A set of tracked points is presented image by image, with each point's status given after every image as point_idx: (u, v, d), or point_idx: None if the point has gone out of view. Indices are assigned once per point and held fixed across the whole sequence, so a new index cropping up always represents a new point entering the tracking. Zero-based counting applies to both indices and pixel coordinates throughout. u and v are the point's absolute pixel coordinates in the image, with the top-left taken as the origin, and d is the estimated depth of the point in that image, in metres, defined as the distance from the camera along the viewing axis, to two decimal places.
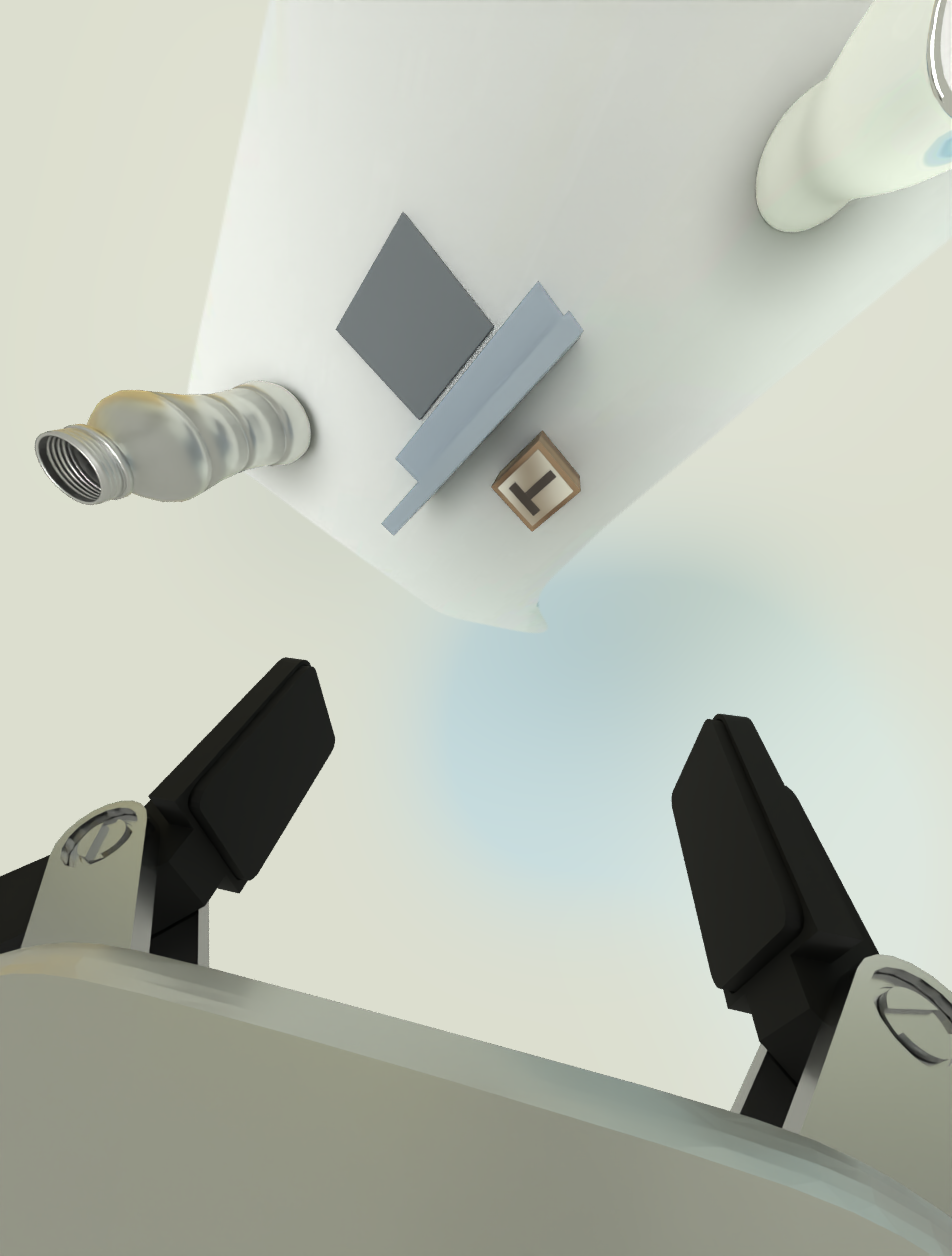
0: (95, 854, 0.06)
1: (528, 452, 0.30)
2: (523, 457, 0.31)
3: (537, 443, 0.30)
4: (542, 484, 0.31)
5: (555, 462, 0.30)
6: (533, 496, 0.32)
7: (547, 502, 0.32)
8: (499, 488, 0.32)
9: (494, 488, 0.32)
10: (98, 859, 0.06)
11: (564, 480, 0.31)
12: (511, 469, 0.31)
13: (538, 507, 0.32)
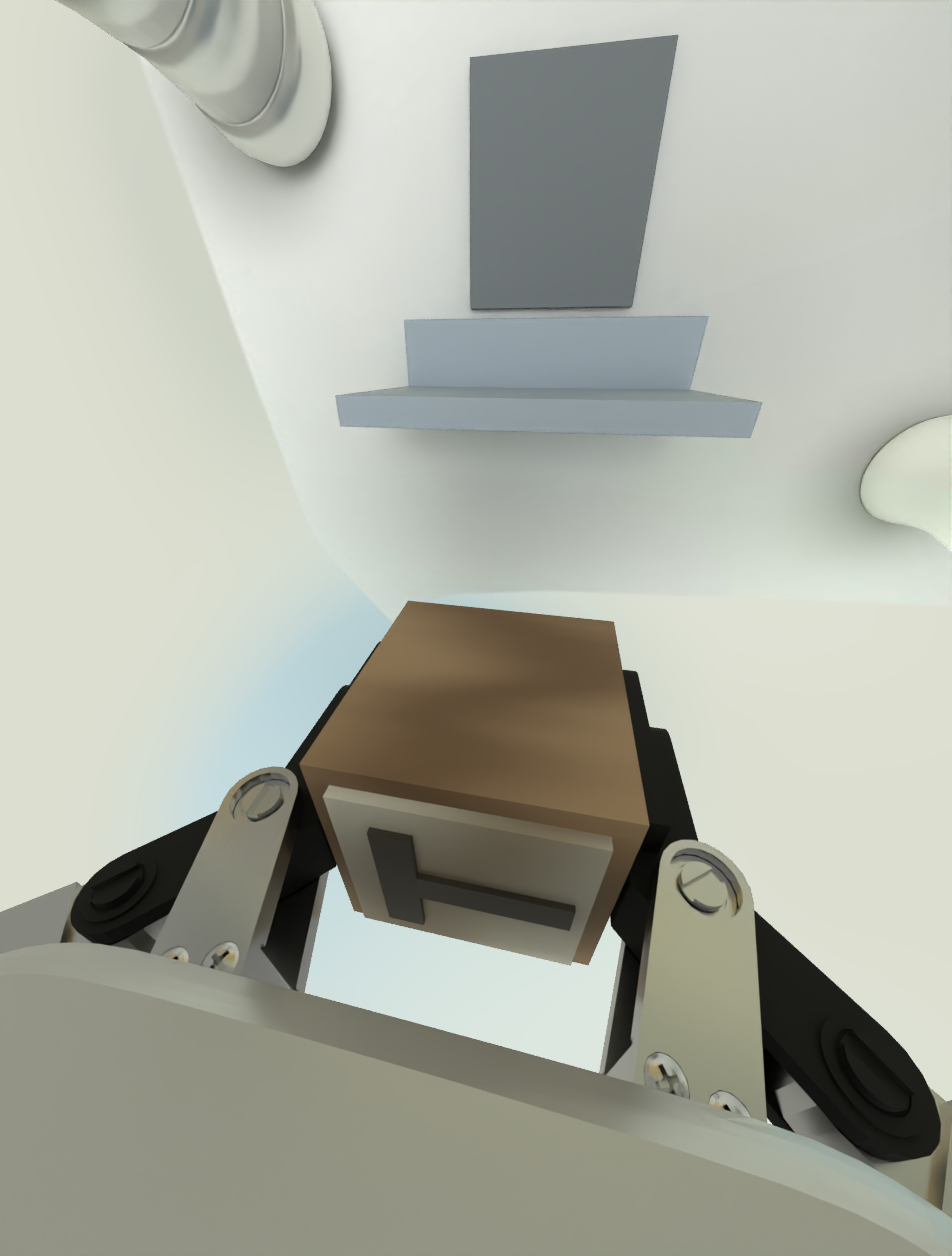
0: (253, 812, 0.07)
1: (562, 814, 0.05)
2: (524, 807, 0.06)
3: (631, 825, 0.05)
4: (504, 903, 0.07)
5: (612, 895, 0.06)
6: (436, 901, 0.07)
7: (467, 927, 0.08)
8: (330, 796, 0.06)
9: (310, 776, 0.06)
10: (254, 815, 0.07)
11: (579, 942, 0.07)
12: (436, 793, 0.06)
13: (426, 916, 0.08)
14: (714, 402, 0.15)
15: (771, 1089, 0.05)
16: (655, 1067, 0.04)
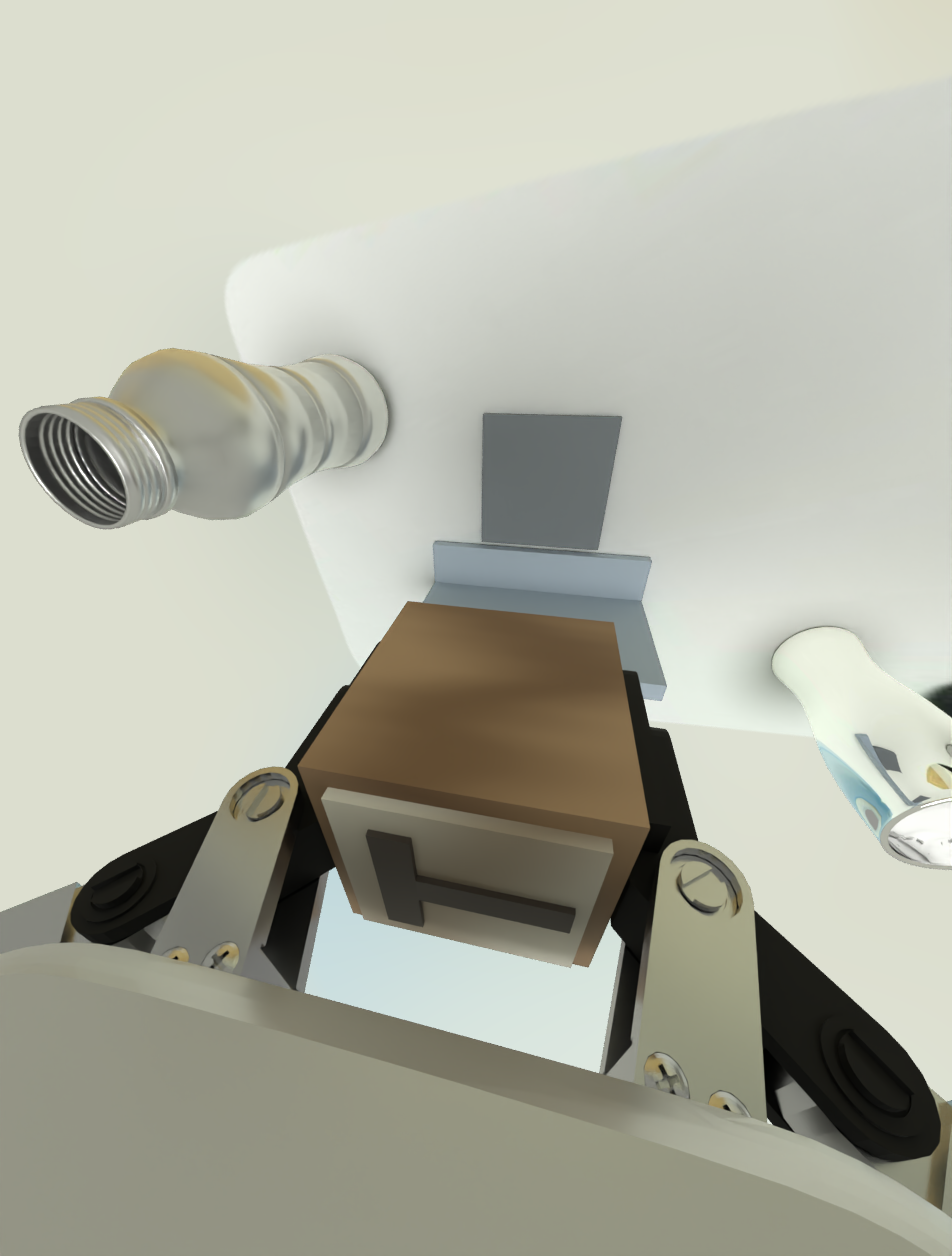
0: (253, 812, 0.07)
1: (562, 816, 0.05)
2: (524, 809, 0.05)
3: (632, 827, 0.05)
4: (503, 905, 0.07)
5: (613, 897, 0.06)
6: (436, 904, 0.07)
7: (466, 929, 0.08)
8: (329, 798, 0.06)
9: (308, 778, 0.06)
10: (254, 815, 0.07)
11: (579, 943, 0.07)
12: (435, 795, 0.06)
13: (425, 918, 0.08)
14: None
15: (771, 1090, 0.05)
16: (655, 1067, 0.04)
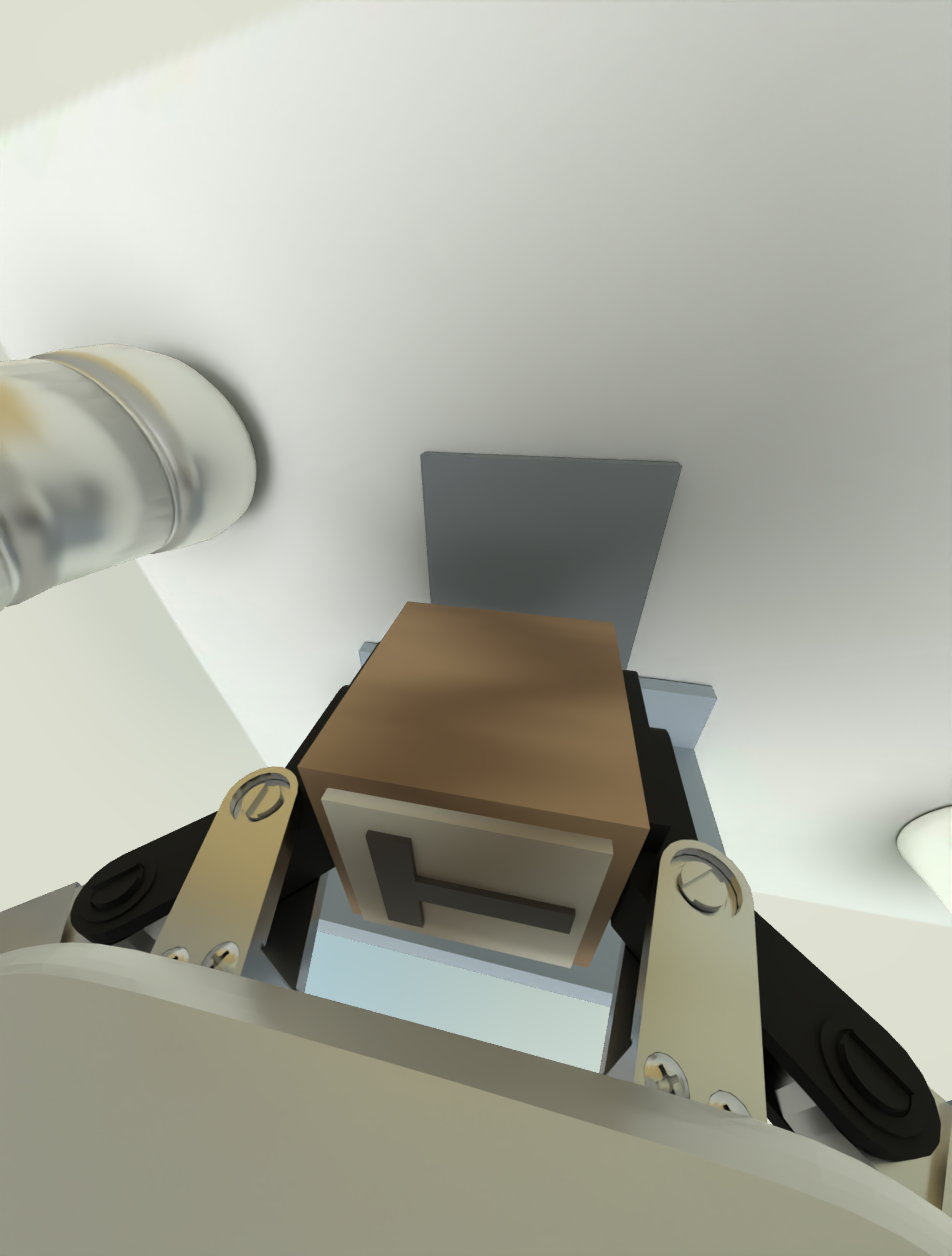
0: (253, 812, 0.07)
1: (562, 816, 0.05)
2: (524, 810, 0.05)
3: (631, 828, 0.05)
4: (503, 906, 0.07)
5: (612, 898, 0.06)
6: (436, 904, 0.07)
7: (466, 929, 0.08)
8: (328, 799, 0.06)
9: (308, 778, 0.06)
10: (254, 815, 0.07)
11: (579, 944, 0.07)
12: (435, 796, 0.06)
13: (425, 919, 0.08)
14: None
15: (771, 1089, 0.05)
16: (655, 1067, 0.04)
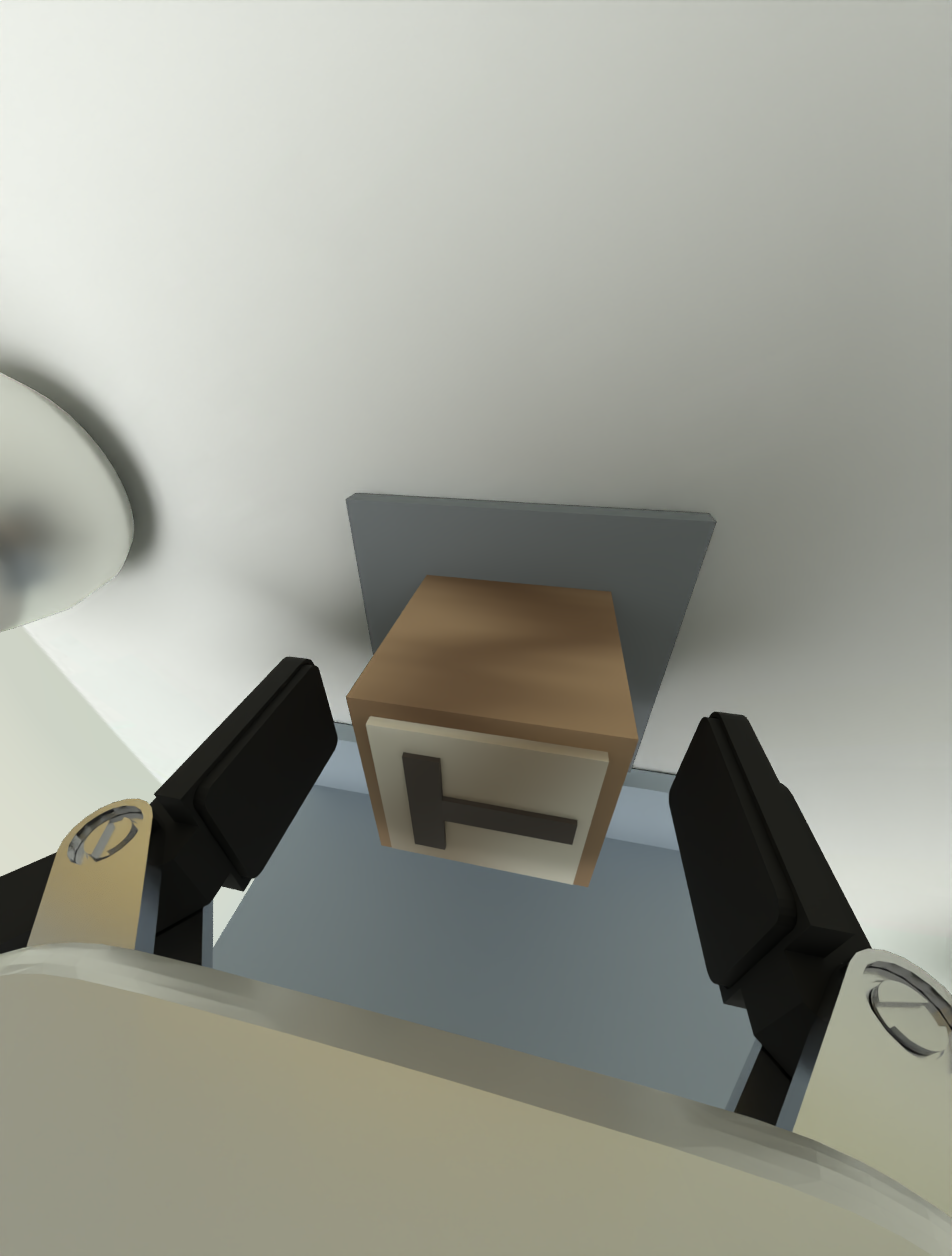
0: (101, 851, 0.06)
1: (567, 732, 0.07)
2: (536, 728, 0.07)
3: (624, 740, 0.06)
4: (516, 822, 0.08)
5: (608, 811, 0.08)
6: (458, 822, 0.08)
7: (483, 850, 0.09)
8: None
9: (354, 708, 0.07)
10: (104, 856, 0.06)
11: (580, 858, 0.08)
12: (462, 719, 0.07)
13: (447, 841, 0.09)
14: None
15: None
16: None
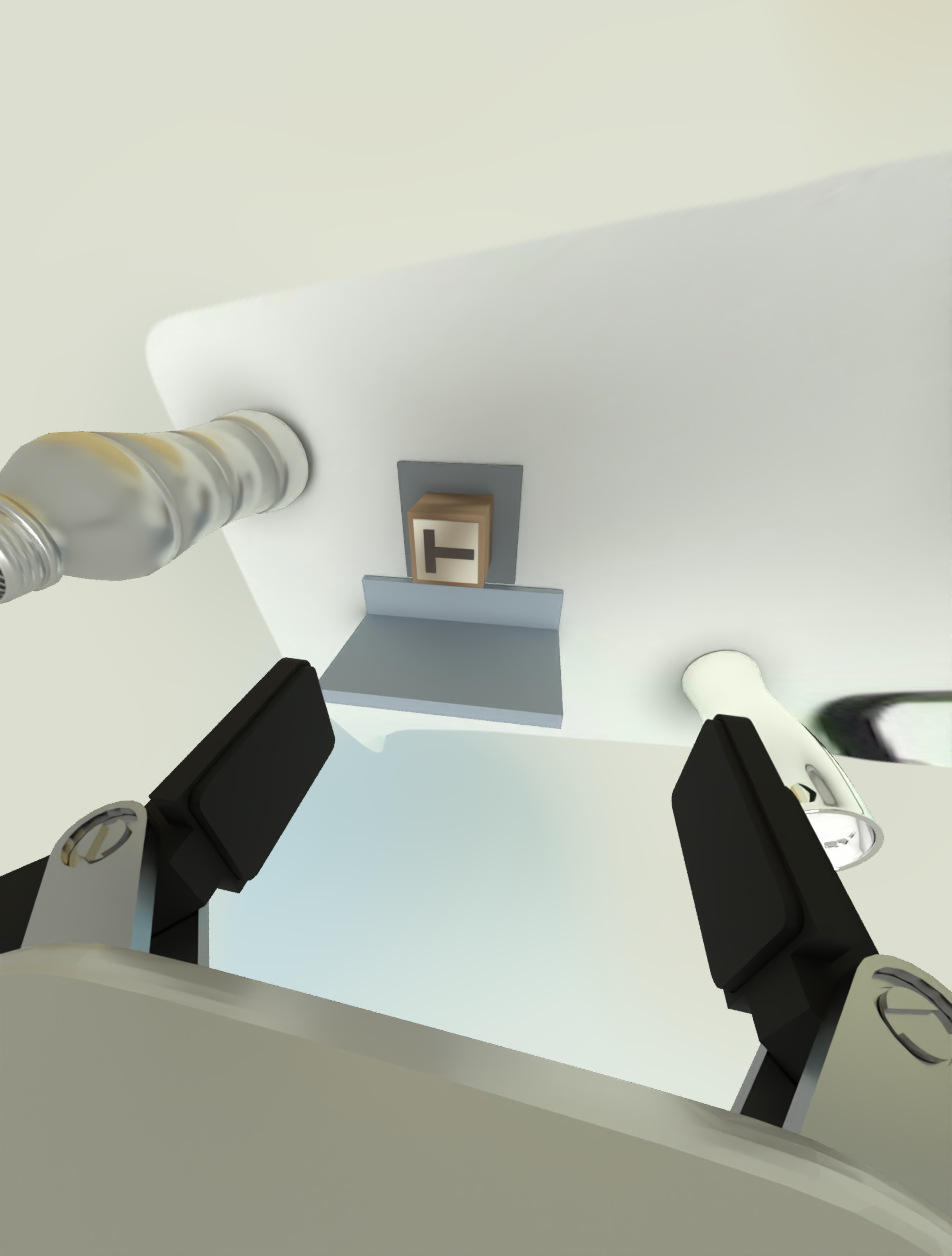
0: (95, 854, 0.06)
1: (467, 516, 0.25)
2: (459, 516, 0.25)
3: (482, 517, 0.25)
4: (457, 554, 0.26)
5: (483, 547, 0.26)
6: (439, 557, 0.26)
7: (448, 572, 0.27)
8: (414, 521, 0.26)
9: (409, 516, 0.26)
10: (97, 858, 0.06)
11: (477, 568, 0.27)
12: (440, 515, 0.25)
13: (436, 569, 0.27)
14: (537, 712, 0.26)
15: None
16: None
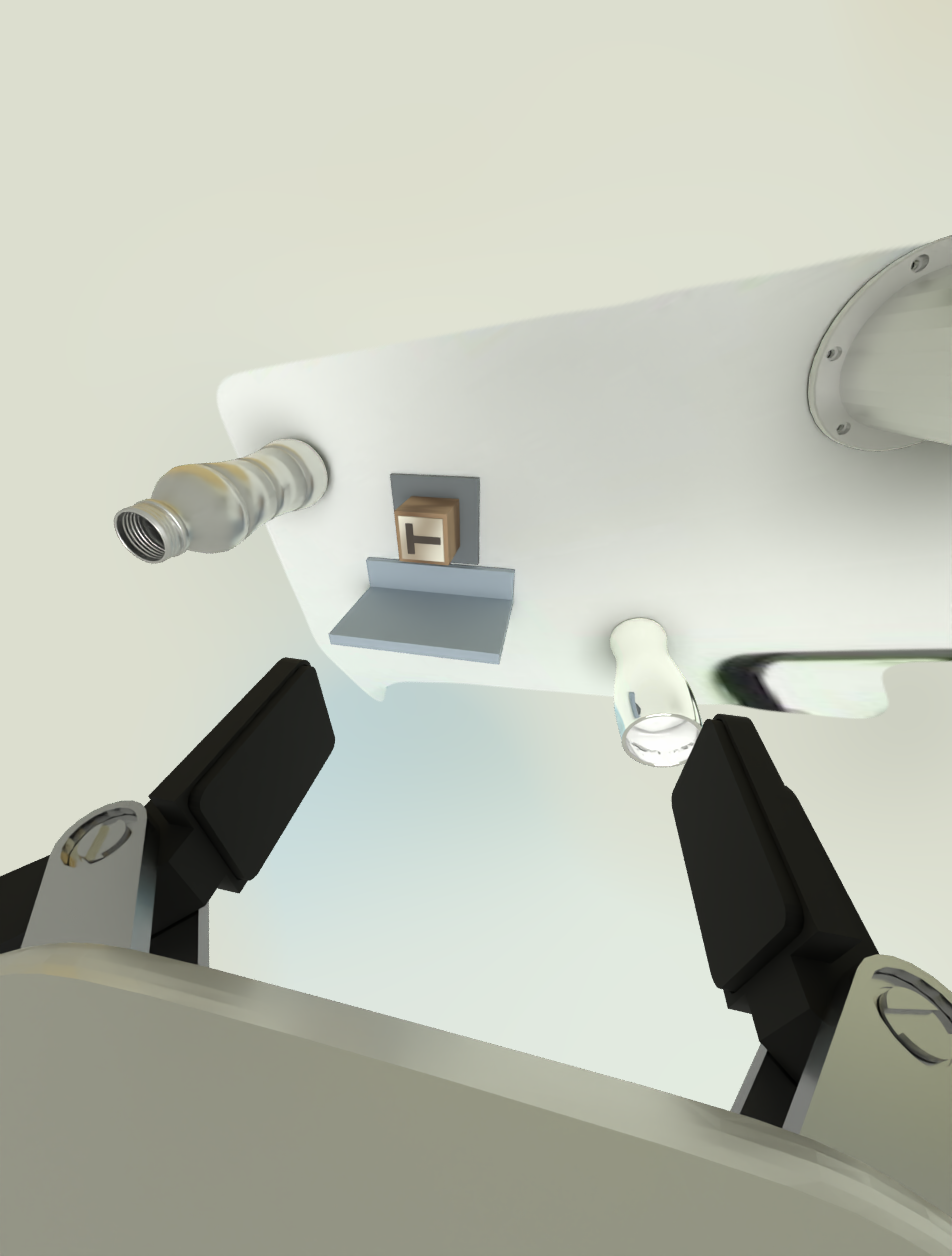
0: (95, 854, 0.06)
1: (435, 514, 0.36)
2: (429, 514, 0.36)
3: (444, 515, 0.36)
4: (429, 541, 0.38)
5: (446, 536, 0.37)
6: (417, 543, 0.38)
7: (423, 553, 0.38)
8: (399, 517, 0.37)
9: (395, 513, 0.37)
10: (98, 858, 0.06)
11: (443, 551, 0.38)
12: (416, 513, 0.37)
13: (415, 551, 0.38)
14: (482, 652, 0.37)
15: None
16: None
